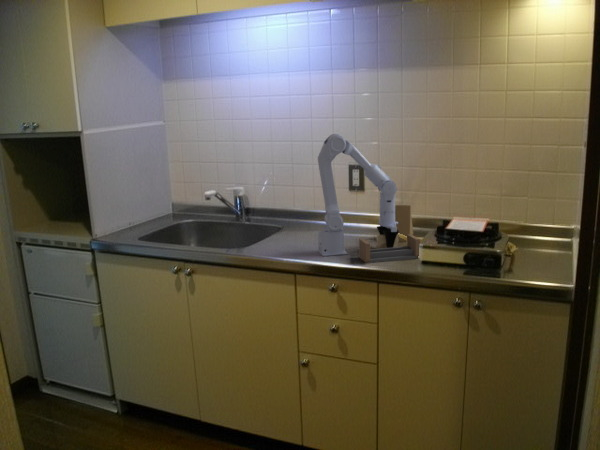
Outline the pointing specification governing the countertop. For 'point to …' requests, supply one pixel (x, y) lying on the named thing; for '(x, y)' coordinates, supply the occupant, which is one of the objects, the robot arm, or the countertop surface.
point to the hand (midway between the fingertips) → (387, 246)
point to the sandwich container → (403, 220)
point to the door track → (389, 251)
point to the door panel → (382, 241)
